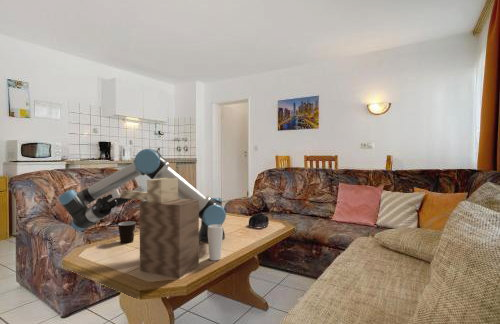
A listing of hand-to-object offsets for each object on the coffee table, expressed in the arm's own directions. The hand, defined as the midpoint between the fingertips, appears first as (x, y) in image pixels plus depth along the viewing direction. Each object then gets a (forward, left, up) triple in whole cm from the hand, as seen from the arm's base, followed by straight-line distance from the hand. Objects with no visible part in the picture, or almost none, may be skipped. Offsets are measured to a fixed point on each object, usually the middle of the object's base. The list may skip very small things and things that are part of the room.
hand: (130, 190), depth 122 cm
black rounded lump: (-76, -40, -32) cm, 92 cm away
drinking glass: (-36, +9, -32) cm, 49 cm away
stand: (-16, +13, -32) cm, 38 cm away
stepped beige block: (-6, +5, -4) cm, 9 cm away
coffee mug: (+3, -32, -32) cm, 45 cm away
